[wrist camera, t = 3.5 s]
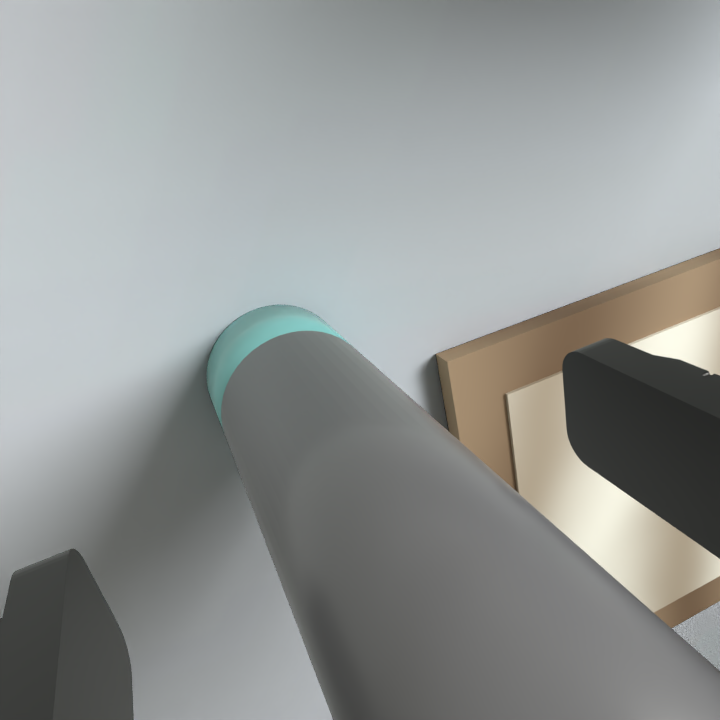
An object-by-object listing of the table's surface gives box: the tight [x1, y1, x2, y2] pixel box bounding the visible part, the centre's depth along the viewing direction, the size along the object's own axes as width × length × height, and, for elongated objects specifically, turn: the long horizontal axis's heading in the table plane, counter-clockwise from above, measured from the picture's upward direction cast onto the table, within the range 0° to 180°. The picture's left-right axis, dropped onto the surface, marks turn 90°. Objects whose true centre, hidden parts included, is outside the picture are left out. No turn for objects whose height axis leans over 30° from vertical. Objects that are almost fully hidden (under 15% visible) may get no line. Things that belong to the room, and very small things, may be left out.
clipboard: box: [436, 249, 720, 628], centre depth 20 cm, size 18×14×2 cm
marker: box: [207, 305, 720, 720], centre depth 8 cm, size 3×3×13 cm
